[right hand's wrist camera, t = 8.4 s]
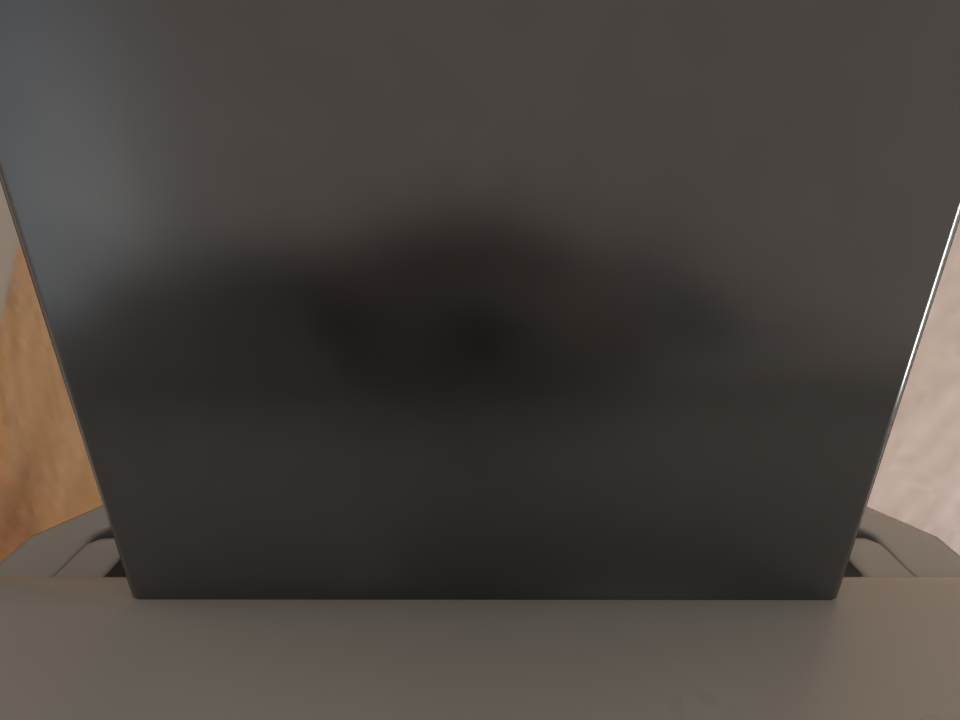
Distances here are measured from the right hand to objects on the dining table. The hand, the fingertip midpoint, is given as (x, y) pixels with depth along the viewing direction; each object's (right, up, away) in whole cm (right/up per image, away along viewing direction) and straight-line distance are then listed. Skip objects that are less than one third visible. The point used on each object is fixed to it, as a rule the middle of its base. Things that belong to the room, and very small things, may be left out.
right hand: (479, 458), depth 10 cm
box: (0, +11, +1) cm, 11 cm away
